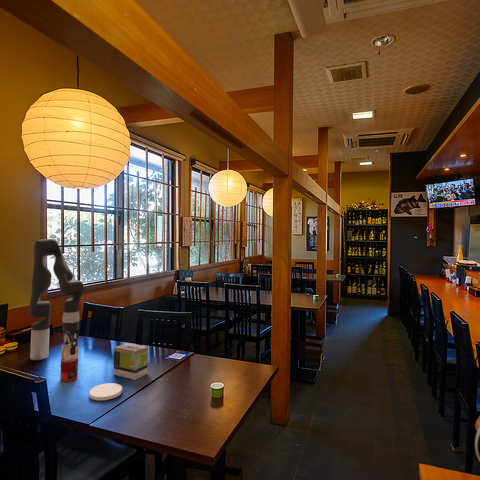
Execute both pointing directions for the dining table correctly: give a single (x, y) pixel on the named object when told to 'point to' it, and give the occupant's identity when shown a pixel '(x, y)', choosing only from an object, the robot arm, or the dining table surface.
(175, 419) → the dining table surface
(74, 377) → the canned food
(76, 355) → the block
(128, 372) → the tea box
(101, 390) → the plastic lid
